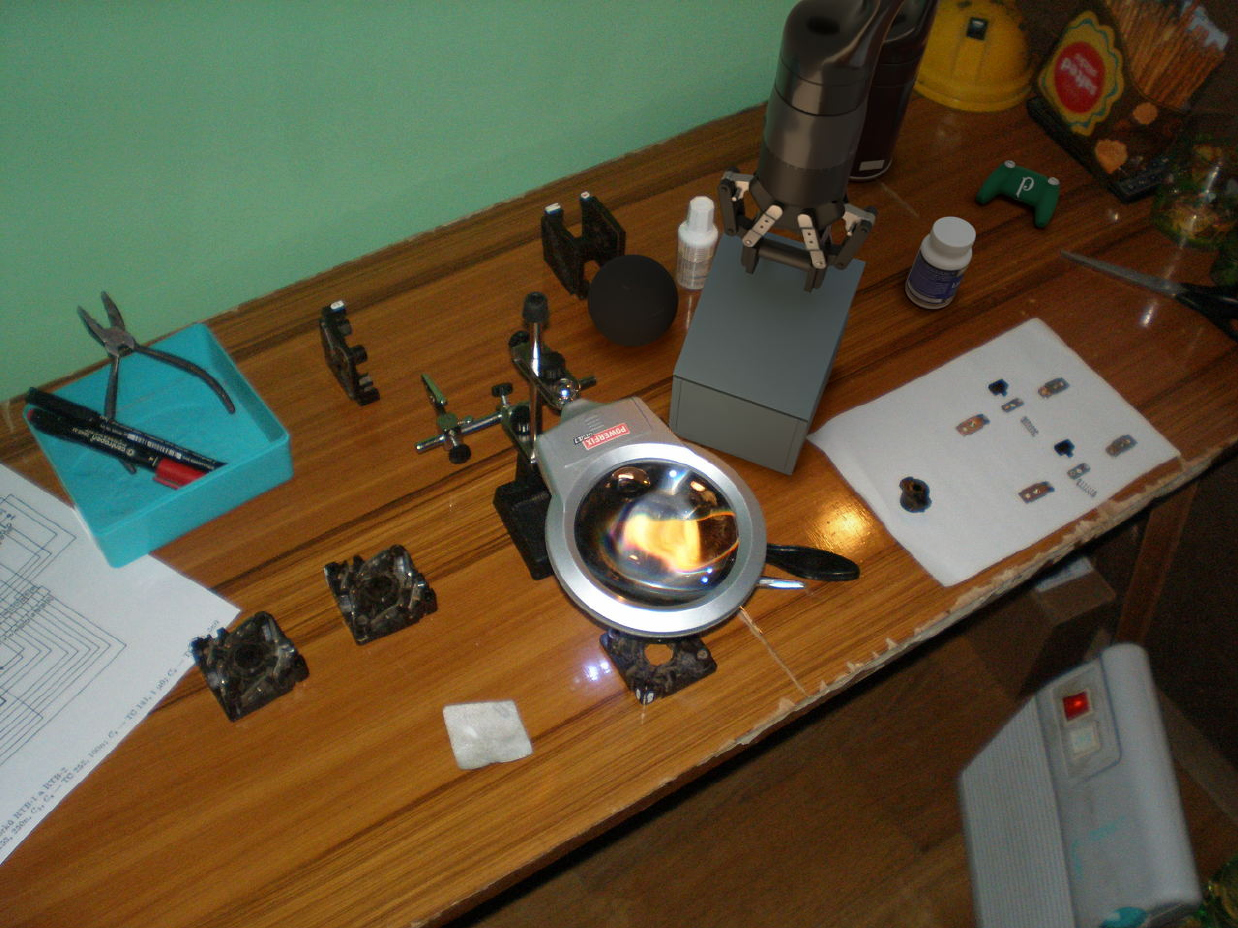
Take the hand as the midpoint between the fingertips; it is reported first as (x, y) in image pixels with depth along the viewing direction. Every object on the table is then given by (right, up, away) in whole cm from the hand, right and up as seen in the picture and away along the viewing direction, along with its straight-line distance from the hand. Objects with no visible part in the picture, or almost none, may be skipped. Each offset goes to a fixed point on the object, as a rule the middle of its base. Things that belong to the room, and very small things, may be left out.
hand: (780, 275), depth 92 cm
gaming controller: (+35, +15, +32) cm, 49 cm away
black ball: (-14, -2, +20) cm, 25 cm away
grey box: (-1, -11, +15) cm, 19 cm away
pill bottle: (+21, +2, +24) cm, 32 cm away
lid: (-1, -4, +3) cm, 5 cm away
